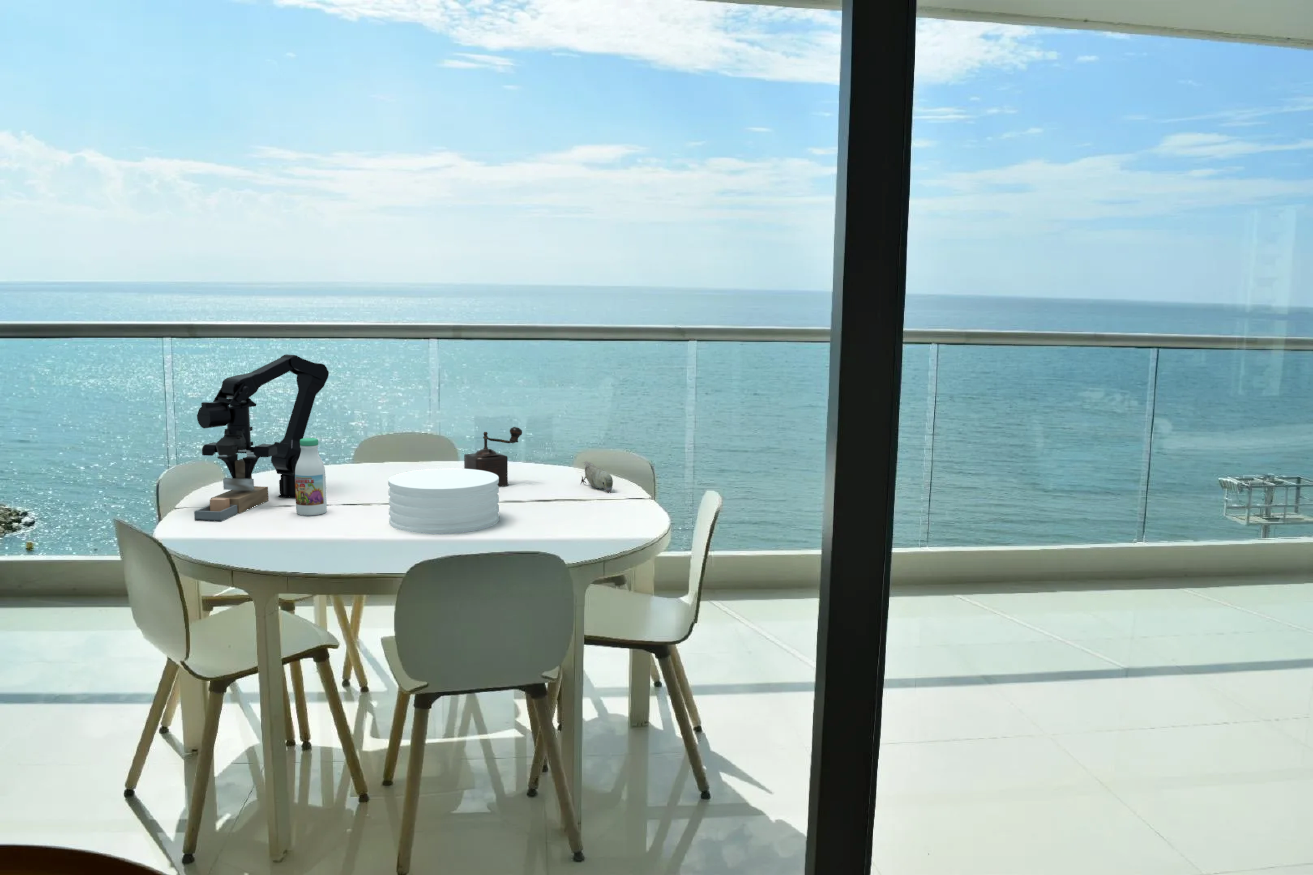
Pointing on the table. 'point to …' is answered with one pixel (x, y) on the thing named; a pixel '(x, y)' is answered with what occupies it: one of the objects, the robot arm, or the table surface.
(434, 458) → the table surface
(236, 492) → the walnut board
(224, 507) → the terracotta tile
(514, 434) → the manual coffee grinder
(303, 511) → the milk bottle
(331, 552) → the table surface
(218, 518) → the box
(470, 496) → the plate stack
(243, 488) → the grey block with post
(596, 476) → the decorative bird
